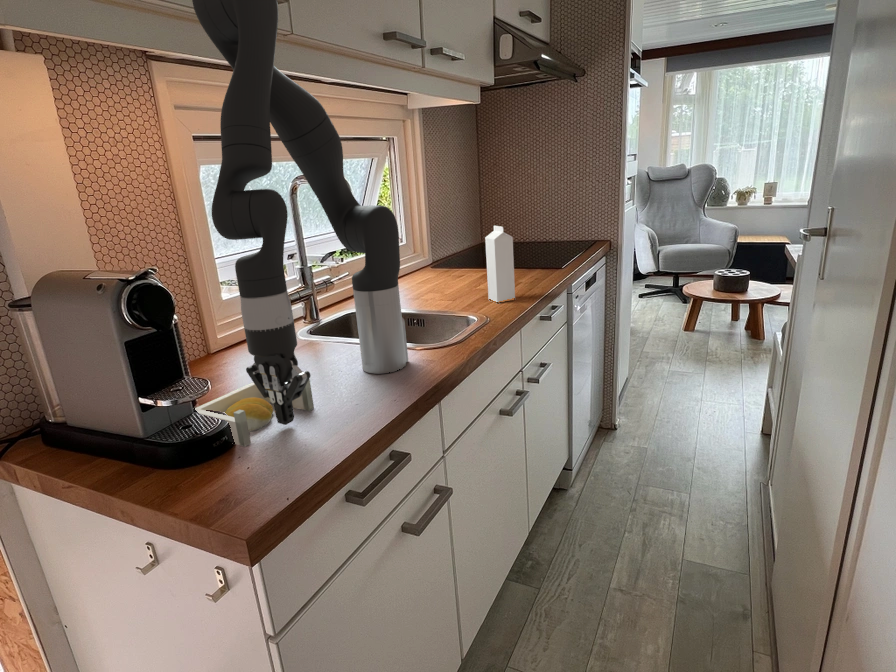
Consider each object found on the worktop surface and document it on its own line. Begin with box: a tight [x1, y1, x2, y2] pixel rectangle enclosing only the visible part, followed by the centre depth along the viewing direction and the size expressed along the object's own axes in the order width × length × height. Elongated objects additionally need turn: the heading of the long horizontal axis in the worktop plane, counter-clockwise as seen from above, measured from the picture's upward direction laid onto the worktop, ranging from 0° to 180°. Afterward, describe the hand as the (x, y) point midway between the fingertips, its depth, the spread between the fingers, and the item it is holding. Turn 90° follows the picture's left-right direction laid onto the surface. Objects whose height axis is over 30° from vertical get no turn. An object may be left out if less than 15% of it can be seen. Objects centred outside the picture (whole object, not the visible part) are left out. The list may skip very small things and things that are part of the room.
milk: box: [484, 225, 516, 302], centre depth 165 cm, size 6×6×22 cm
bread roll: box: [225, 397, 274, 432], centre depth 97 cm, size 8×9×4 cm
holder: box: [194, 378, 315, 447], centre depth 96 cm, size 15×13×6 cm
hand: (285, 422), depth 93 cm, fingers closed
